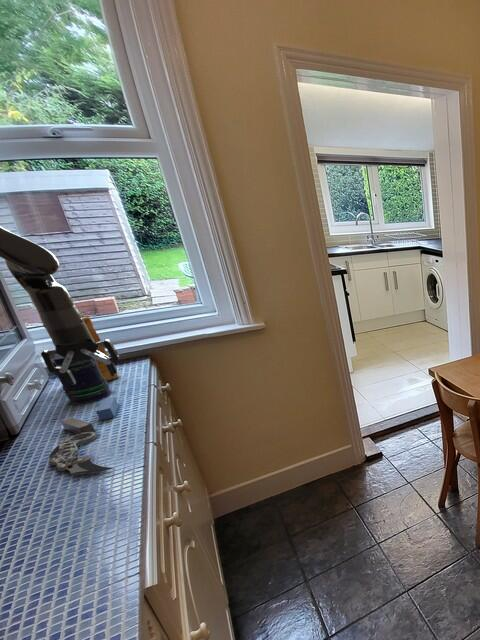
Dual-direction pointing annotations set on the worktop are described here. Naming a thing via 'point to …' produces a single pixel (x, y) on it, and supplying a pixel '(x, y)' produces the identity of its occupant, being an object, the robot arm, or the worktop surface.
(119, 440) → the worktop surface
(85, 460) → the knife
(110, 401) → the blue bar
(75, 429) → the walnut bar
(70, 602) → the worktop surface
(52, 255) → the robot arm
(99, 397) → the storage jar
